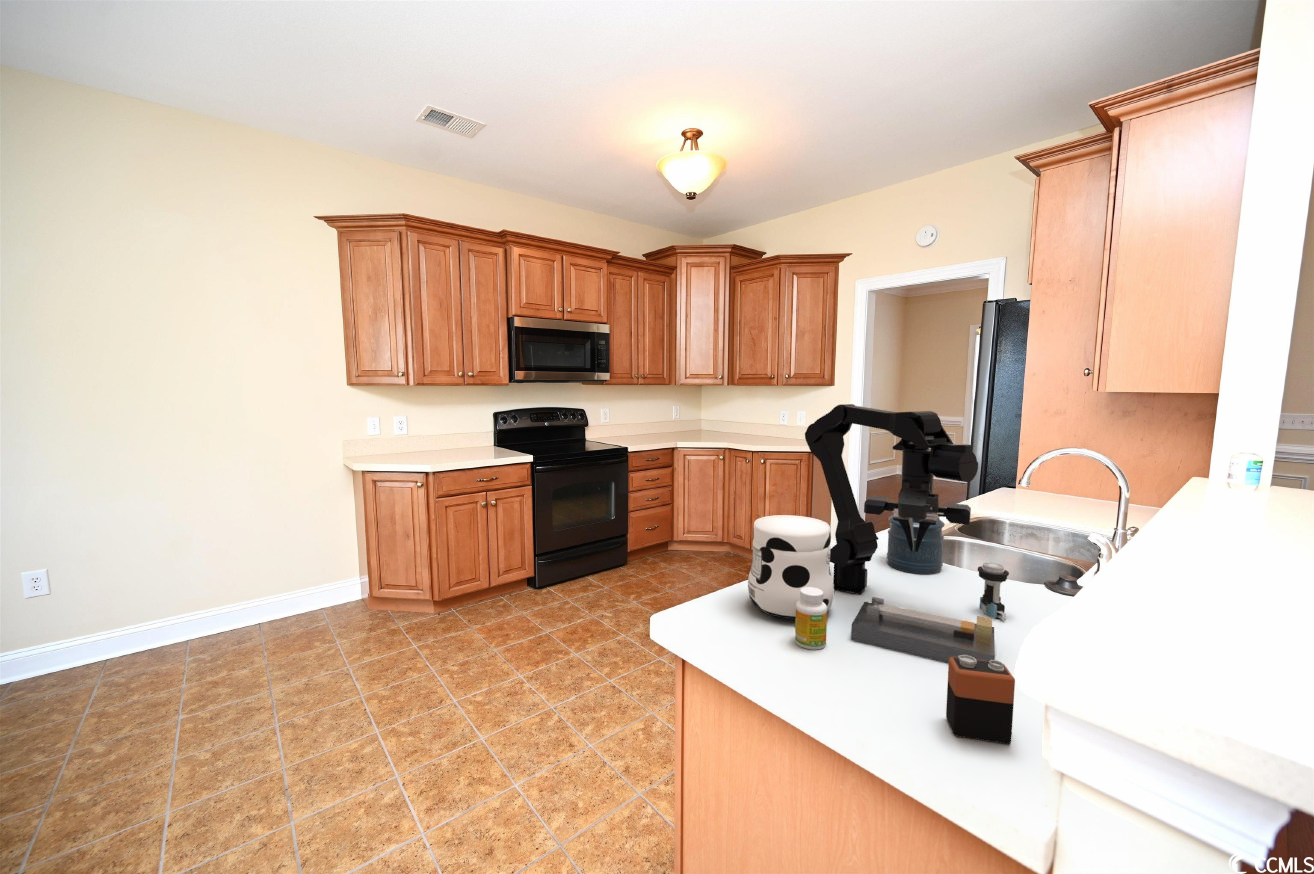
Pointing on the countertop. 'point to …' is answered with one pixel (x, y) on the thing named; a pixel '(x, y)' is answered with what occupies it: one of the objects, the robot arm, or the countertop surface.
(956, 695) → the battery
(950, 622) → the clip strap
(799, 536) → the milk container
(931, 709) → the countertop surface
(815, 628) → the supplement bottle
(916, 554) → the canister
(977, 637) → the grey lever base
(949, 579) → the countertop surface
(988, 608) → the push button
